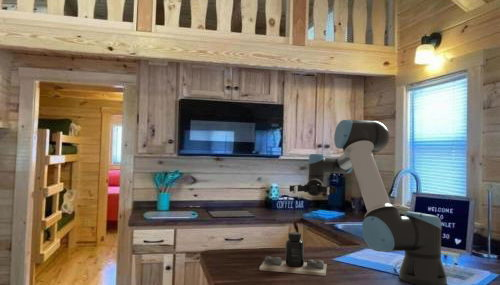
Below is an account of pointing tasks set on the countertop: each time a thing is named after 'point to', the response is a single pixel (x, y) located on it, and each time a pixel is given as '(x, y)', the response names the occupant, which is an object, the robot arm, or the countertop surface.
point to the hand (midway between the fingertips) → (311, 190)
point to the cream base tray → (307, 268)
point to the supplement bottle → (294, 250)
